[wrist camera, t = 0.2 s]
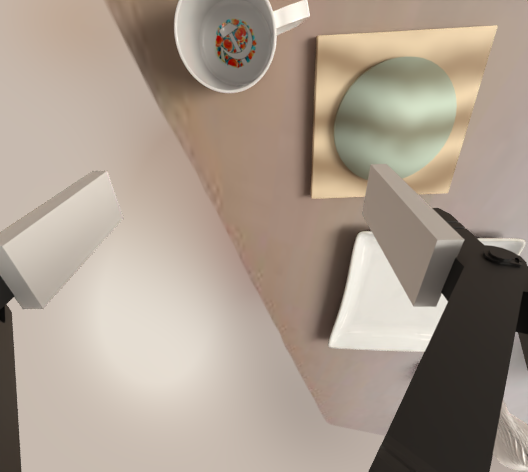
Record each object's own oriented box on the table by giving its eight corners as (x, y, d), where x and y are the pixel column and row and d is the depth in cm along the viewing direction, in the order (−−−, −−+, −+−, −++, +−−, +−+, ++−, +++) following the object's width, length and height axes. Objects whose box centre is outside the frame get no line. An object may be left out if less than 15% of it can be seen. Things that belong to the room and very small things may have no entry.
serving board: (316, 37, 34) (319, 34, 31) (488, 27, 33) (504, 24, 31) (310, 194, 44) (312, 201, 42) (442, 189, 43) (451, 195, 41)
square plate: (323, 334, 60) (327, 350, 57) (351, 220, 46) (358, 232, 43) (449, 340, 61) (459, 356, 57) (513, 229, 47) (532, 241, 44)
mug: (216, 96, 37) (198, 106, 27) (187, 14, 33) (154, -9, 23) (306, 65, 35) (321, 63, 25) (288, -26, 31) (299, -69, 21)
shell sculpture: (479, 385, 68) (542, 478, 53) (508, 390, 69) (579, 483, 54) (459, 403, 72) (512, 495, 57) (487, 408, 73) (547, 499, 58)
